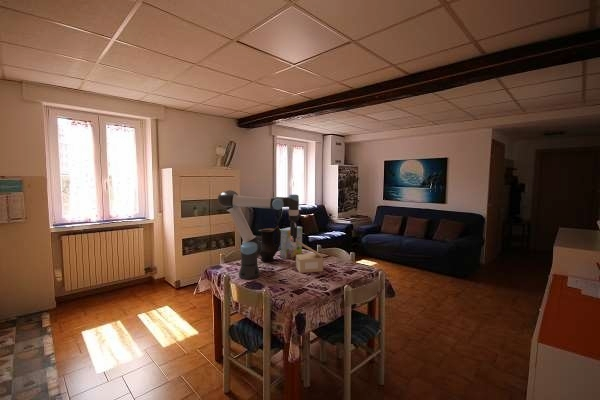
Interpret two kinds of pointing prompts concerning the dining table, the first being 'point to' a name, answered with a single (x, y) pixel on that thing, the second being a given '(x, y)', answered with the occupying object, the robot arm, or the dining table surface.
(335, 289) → the dining table surface
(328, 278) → the dining table surface
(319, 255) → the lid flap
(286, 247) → the snack box
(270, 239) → the jug
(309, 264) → the carton
